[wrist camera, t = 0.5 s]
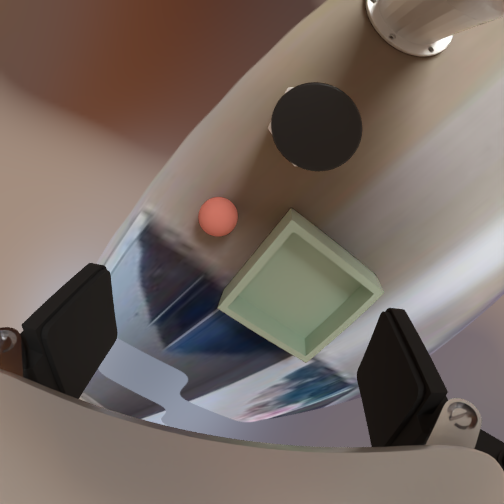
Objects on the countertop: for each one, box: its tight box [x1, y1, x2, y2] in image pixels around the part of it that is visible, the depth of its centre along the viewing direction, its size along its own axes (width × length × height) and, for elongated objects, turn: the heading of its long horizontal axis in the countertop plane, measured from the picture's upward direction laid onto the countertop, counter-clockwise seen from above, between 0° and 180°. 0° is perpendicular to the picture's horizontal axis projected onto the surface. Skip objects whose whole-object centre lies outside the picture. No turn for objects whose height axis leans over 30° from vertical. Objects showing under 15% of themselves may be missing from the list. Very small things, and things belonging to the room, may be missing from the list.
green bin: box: [218, 208, 384, 363], centre depth 43 cm, size 16×16×5 cm
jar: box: [268, 82, 362, 171], centre depth 31 cm, size 9×8×12 cm
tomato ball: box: [198, 197, 238, 236], centre depth 40 cm, size 5×5×5 cm
